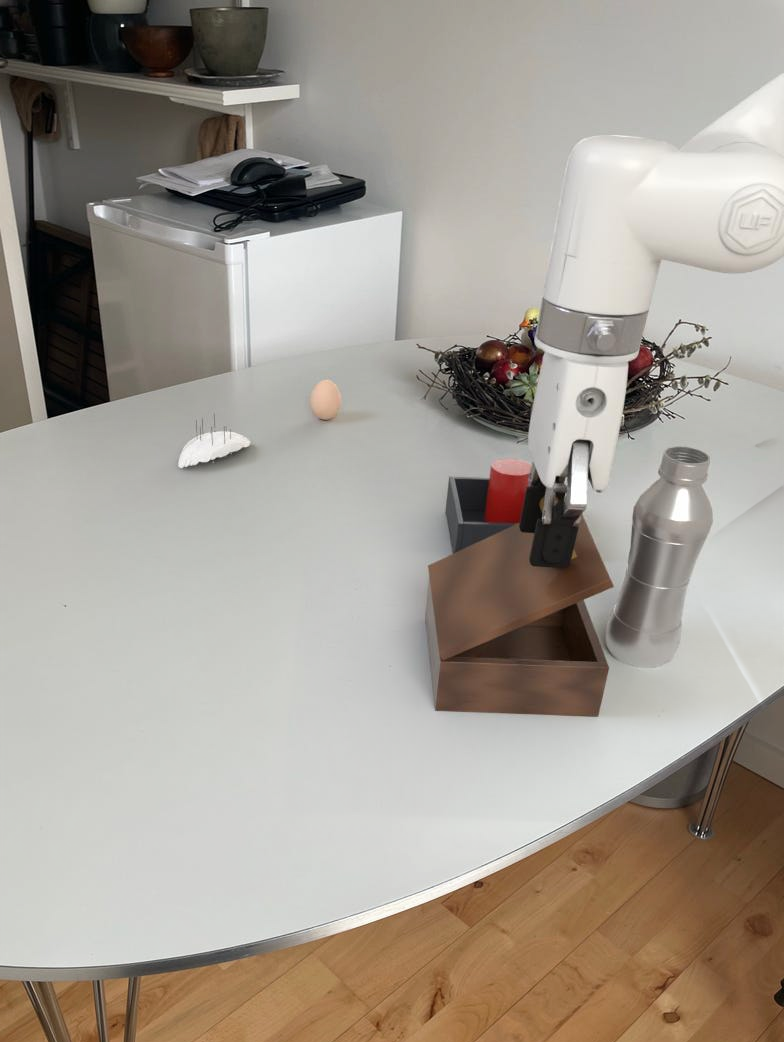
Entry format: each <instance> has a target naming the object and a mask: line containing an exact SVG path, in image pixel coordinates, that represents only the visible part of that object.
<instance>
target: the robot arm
mask: <svg viewBox="0 0 784 1042" xmlns="http://www.w3.org/2000/svg"><path fill="white" fill-rule="evenodd" d="M782 258H784V71H783V72H782V73H780V74H779V75H777V76H775V77H774V78H772V79H771V80H769V81H768V82H766V83H765V84H764V85H762V86H761V87H760V88H758V89H756V90H755V91H754V92H752V93H751V94H750V95H748V96H747V97H745V98H744V99H742V100H741V101H740V102H739V103H737V104H736V105H735V106H733V107H732V108H730V109H729V110H727V111H726V112H725V113H723V114H722V115H721V116H719V117H718V118H716V119H715V120H714V121H712V122H711V123H709V124H708V125H707V126H706V127H705V128H702V130H700V131H699V132H697V134H695V135H694V136H693V137H692V138H690V139H689V140H688V141H687V142H686V143H685V144H683V146H682V147H681V148H680V149H678V148H677V147H676V146H674V145H672V143H669V142H667V141H662V140H658V139H654V138H648V137H640V136H631V135H612V134H607V135H606V134H604V135H592V136H589V137H585V138H583V139H581V140H580V141H579V142H577V143H576V144H575V145H574V147H573V148H572V150H571V152H570V153H569V156H568V159H567V163H566V167H565V171H564V178H563V183H562V189H561V194H560V198H559V205H558V210H557V215H556V221H555V226H554V230H553V237H552V243H551V247H550V253H549V258H548V263H547V264H548V266H547V269H546V274H545V282H544V286H543V293H542V298H541V304H540V308H539V314H538V320H537V324H536V330H535V335H534V345H535V346H536V347H537V348H538V350H542V352H544V353H543V356H542V361H541V366H540V370H539V374H538V379H537V383H536V388H535V393H534V397H533V398H534V399H533V402H532V403H533V404H532V409H531V414H530V420H529V426H528V435H527V444H528V445H527V446H528V450H529V453H530V456H531V460H532V463H531V465H532V467H531V470H530V474H529V486H534V487H526V493H525V498H524V503H523V508H522V513H521V518H520V523H519V528H520V531H521V532H524V533H534V538H533V543H532V548H531V552H530V557H529V561H530V564H531V565H532V566H536V567H551V568H567V567H569V566H570V562H571V558H572V554H573V549H574V545H575V541H576V537H577V532H578V528H579V525H580V521H581V515H583V513H584V512H585V511H586V509H587V504H588V487H589V486H588V484H590V486H591V489H593V491H595V492H596V493H598V494H601V493H604V492H605V491H606V490H607V489H608V487H609V485H610V479H611V475H612V472H613V471H612V470H613V466H614V461H615V456H616V455H615V454H616V450H617V444H618V440H619V435H620V430H621V425H622V420H623V419H622V418H623V412H624V407H625V400H626V393H627V384H628V374H629V362H632V361H634V360H636V359H637V358H638V356H639V353H640V348H641V344H642V339H643V336H644V331H645V327H646V324H647V319H648V315H649V312H650V308H651V303H652V300H653V295H654V291H655V286H656V283H657V279H658V275H659V270H660V266H661V263H662V261H667V262H673V263H678V264H682V265H686V266H689V267H694V268H698V269H702V270H707V271H711V272H715V273H721V274H735V275H736V274H745V273H752V272H755V271H758V270H761V269H764V268H767V267H769V266H771V265H772V264H775V263H776V262H777V261H779V260H780V259H782ZM565 481H566V483H565ZM544 496H545V500H544V507H543V514H542V511H541V509H540V505H539V504H540V501H541V499H542V498H543V497H544ZM555 496H556V497H557V498H558V500H559V501H558V502H557V503H556V504H555V506H554V501H555Z"/></svg>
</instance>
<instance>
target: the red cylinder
mask: <svg viewBox="0 0 784 1042" xmlns="http://www.w3.org/2000/svg"><path fill="white" fill-rule="evenodd" d="M531 467H532V463H530V462H528V461H525V460H522V459H518V458H499V459H496V460H494V461H493V462H491V464H490V471H489V477H488V478H489V485H488V493H487V501H486V509H485V517H484V522H491V523H520V518H521V513H522V508H523V503H524V498H525V493H526V487H531V486H529V474H530V470H531Z"/></svg>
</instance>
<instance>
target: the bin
mask: <svg viewBox="0 0 784 1042" xmlns="http://www.w3.org/2000/svg"><path fill="white" fill-rule="evenodd" d="M447 484H448V485H447V493H446V503H445V516H446V522H447V527H448V534H449V539H450V545H451V551H452V554H454V553H456V552H458V551H460V550H462V549H465V548H467V547H469V546H471V545H473V544H475V543H477V542H479V541H482V540H484V539H486V538H488V537H490V536H492V535H494V534H497V533H499V532H501V531H503V530H505V529H507V528H509V527H512V526H514V525H516V524H518V523H491V522H484V517H485V509H486V501H487V493H488V485H489V477H479V476H478V477H477V476H476V477H475V476H474V477H473V476H449V477H448V483H447ZM531 487H534V486H531Z"/></svg>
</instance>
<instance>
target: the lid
mask: <svg viewBox="0 0 784 1042" xmlns="http://www.w3.org/2000/svg"><path fill="white" fill-rule="evenodd" d="M544 500H545V496H544V497H543V498H542V499H541V501H540V504H539V505H540V509H541V511H542V514H543V507H544ZM558 501H559V500H558V498H557V497H556V496H555V501H554V506H555V504H556V503H557V502H558ZM533 538H534V533H524V532H521V531H520V528H519V523H518V524H516V525H514V526H512V527H509V528H507V529H505V530H503V531H501V532H499V533H497V534H494V535H492V536H490V537H488V538H486V539H484V540H482V541H479V542H477V543H475V544H473V545H471V546H469V547H467V548H465V549H462V550H460V551H458V552H456V553H454V554H453V553H451V554H450V555H447V556H445V557H443V558H441V559H439V560H437V561H434V562H432V563H430V564H428V565H427V570H428V579H429V578H430V586H431V594H432V602H433V610H434V618H435V626H436V634H437V642H438V650H439V655H440V656H441V658H442V660H445V659H448V658H450V657H452V656H455V655H457V654H459V653H461V652H464V651H466V650H468V649H471V648H473V647H475V646H478V645H480V644H482V643H485V642H487V641H489V640H492V639H494V638H496V637H499V636H501V635H503V634H506V633H508V632H510V631H512V630H515V629H517V628H519V627H522V626H524V625H526V624H529V623H531V622H533V621H536V620H538V619H540V618H543V617H545V616H547V615H550V614H552V613H554V612H557V611H559V610H561V609H563V608H566V607H568V606H570V605H573V604H575V603H577V602H580V601H582V600H584V601H585V600H586V599H589V598H591V597H594V596H595V595H598V594H600V593H602V592H605V591H608V590H610V589H612V588H614V587H615V585H614V583H613V581H612V579H611V576H610V574H609V572H608V570H607V568H606V565H605V563H604V560H603V558H602V556H601V554H600V551H599V549H598V547H597V545H596V542H595V539H594V538H593V536H592V533H591V531H590V528H589V526H588V524H587V521H586V520H585V517H584V515H583V514H582V515H581V521H580V525H579V528H578V532H577V537H576V541H575V545H574V549H573V554H572V558H571V562H570V566H569V567H567V568H551V567H536V566H532V565H531V564H530V561H529V557H530V552H531V548H532V543H533Z"/></svg>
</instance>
